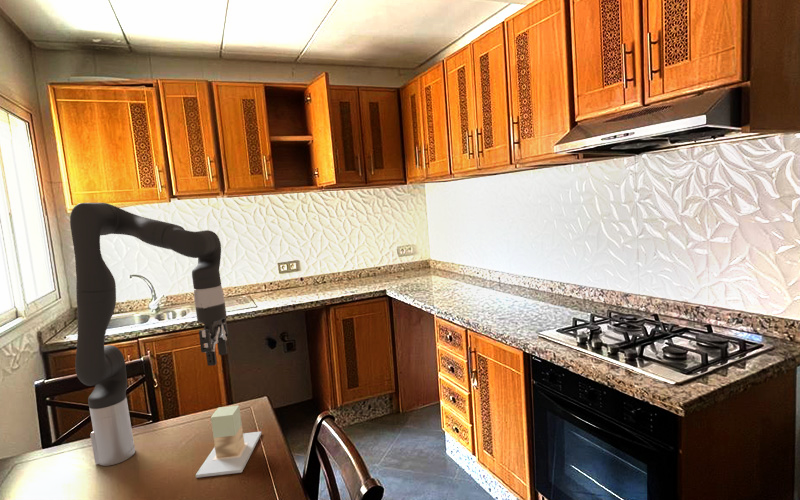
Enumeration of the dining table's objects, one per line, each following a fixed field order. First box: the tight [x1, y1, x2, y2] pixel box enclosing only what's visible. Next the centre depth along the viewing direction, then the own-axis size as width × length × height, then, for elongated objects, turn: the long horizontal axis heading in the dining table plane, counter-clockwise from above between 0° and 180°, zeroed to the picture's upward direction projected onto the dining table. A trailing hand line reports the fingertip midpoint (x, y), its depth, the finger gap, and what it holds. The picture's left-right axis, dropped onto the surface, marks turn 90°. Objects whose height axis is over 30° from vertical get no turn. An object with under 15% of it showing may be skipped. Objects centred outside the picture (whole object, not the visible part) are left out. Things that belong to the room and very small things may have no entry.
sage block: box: [210, 404, 243, 439], centre depth 127 cm, size 6×6×6 cm
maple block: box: [213, 424, 244, 458], centre depth 127 cm, size 6×6×6 cm
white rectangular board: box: [195, 431, 262, 478], centre depth 128 cm, size 12×20×1 cm, turn 3°
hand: (217, 359), depth 125 cm, fingers open, 8 cm apart
